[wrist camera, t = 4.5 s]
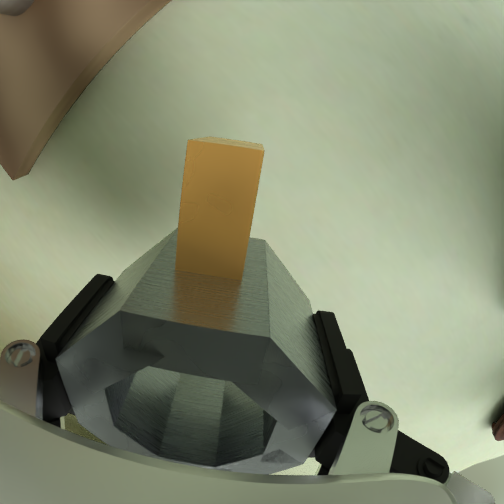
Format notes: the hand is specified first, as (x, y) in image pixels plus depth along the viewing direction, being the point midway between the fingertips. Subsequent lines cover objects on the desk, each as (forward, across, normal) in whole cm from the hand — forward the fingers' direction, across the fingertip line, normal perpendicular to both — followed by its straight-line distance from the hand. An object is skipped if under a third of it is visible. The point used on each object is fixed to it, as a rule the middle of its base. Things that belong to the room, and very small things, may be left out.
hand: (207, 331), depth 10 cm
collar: (+1, 0, -1) cm, 2 cm away
